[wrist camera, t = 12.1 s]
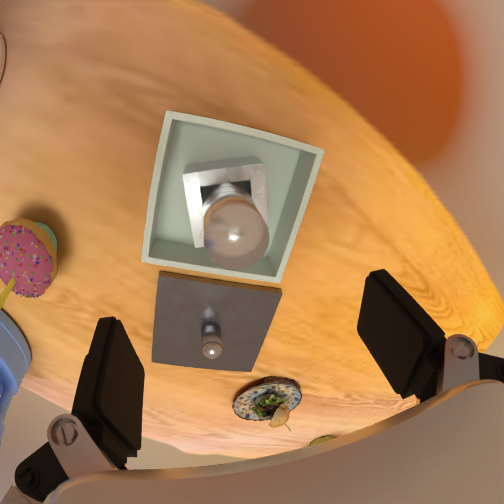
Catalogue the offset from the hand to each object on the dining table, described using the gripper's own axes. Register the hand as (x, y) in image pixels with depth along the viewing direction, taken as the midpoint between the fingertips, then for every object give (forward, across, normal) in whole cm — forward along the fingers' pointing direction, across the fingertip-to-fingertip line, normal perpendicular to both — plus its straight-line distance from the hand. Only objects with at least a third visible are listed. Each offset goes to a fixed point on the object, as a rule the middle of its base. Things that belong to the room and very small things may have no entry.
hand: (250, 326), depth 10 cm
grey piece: (+19, -1, +1) cm, 19 cm away
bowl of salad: (+19, -3, +36) cm, 41 cm away
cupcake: (+20, +21, +2) cm, 29 cm away
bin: (+20, -1, +1) cm, 20 cm away
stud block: (+19, +3, +17) cm, 26 cm away
